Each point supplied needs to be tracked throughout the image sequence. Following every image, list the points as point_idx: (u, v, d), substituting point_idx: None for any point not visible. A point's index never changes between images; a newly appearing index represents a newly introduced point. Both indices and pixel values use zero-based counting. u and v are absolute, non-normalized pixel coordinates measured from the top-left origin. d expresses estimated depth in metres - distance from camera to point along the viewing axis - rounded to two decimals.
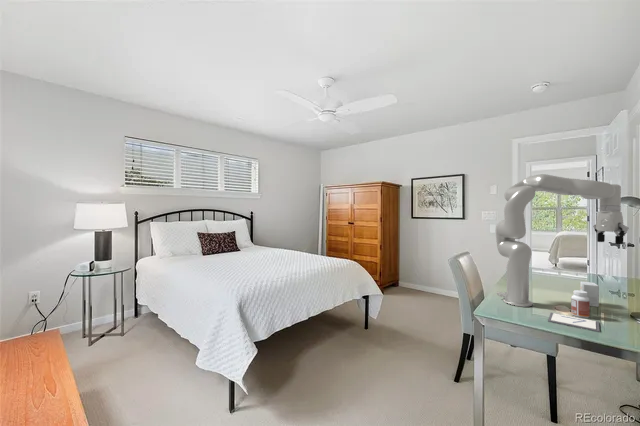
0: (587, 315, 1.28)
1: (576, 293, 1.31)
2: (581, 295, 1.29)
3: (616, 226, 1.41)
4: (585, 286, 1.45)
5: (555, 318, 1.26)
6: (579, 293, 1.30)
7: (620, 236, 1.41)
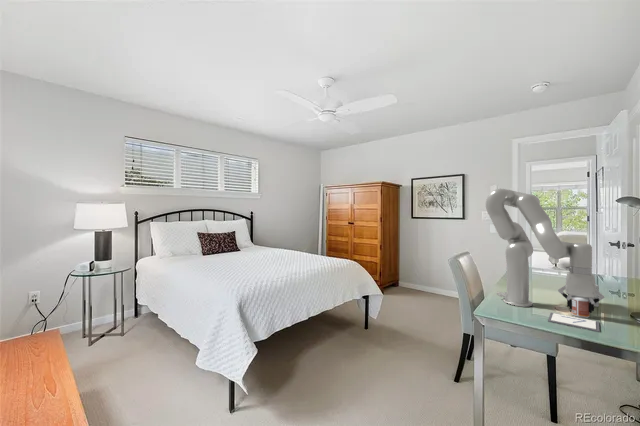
0: (587, 315, 1.28)
1: None
2: None
3: None
4: None
5: (555, 318, 1.26)
6: None
7: None
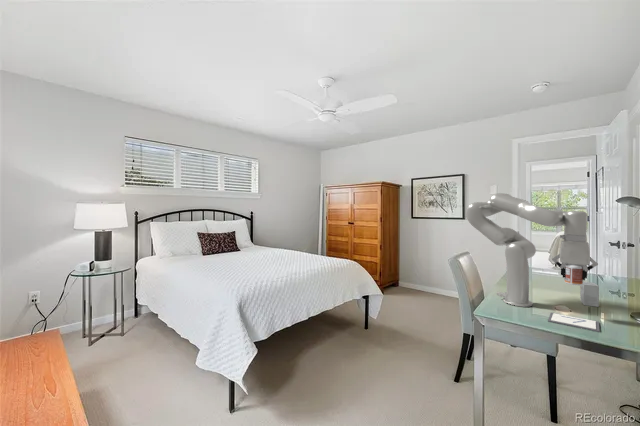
0: (580, 282, 1.28)
1: None
2: None
3: None
4: (585, 286, 1.45)
5: (555, 318, 1.26)
6: None
7: None
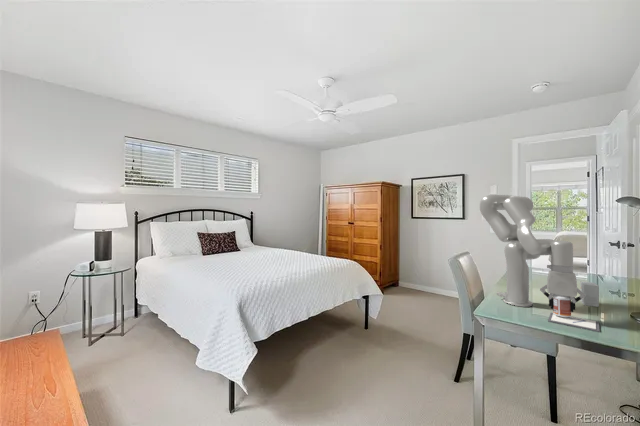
0: (569, 314, 1.25)
1: None
2: None
3: (576, 293, 1.24)
4: (585, 286, 1.45)
5: (555, 318, 1.26)
6: None
7: None
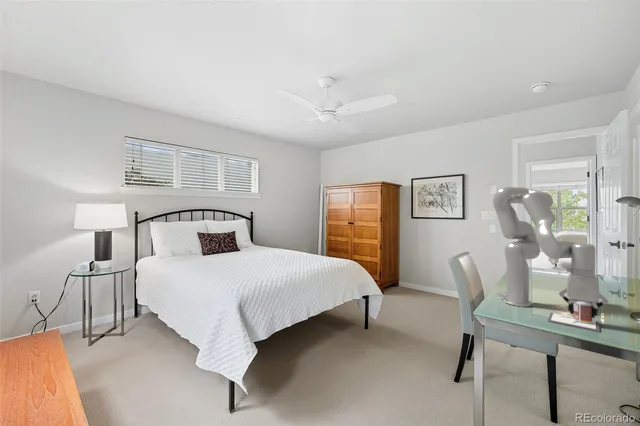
0: (590, 320, 1.20)
1: None
2: None
3: (598, 298, 1.18)
4: None
5: (555, 318, 1.26)
6: None
7: (597, 308, 1.20)
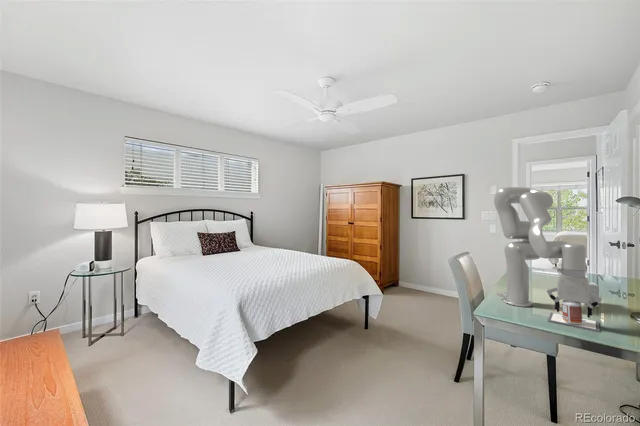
0: (579, 321, 1.19)
1: None
2: None
3: (589, 296, 1.17)
4: None
5: (555, 318, 1.26)
6: None
7: None
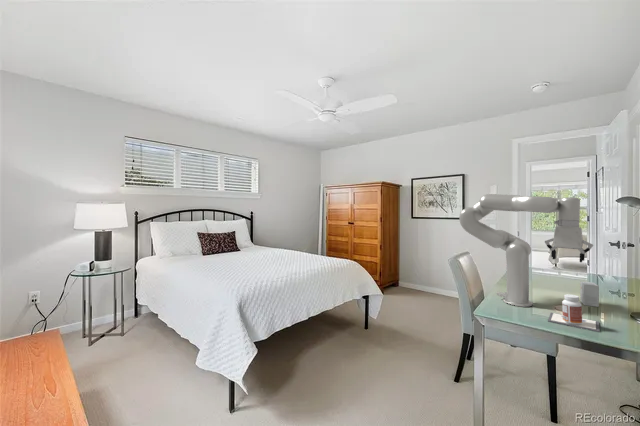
0: (579, 321, 1.19)
1: (567, 298, 1.21)
2: (572, 300, 1.20)
3: (582, 243, 1.31)
4: (585, 286, 1.45)
5: (555, 318, 1.26)
6: (570, 298, 1.20)
7: (584, 254, 1.31)
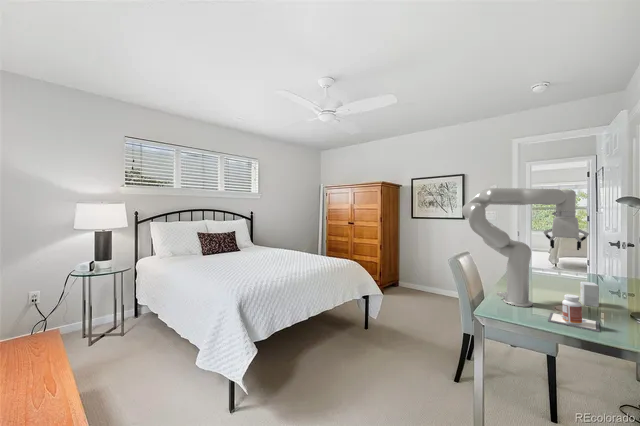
0: (579, 321, 1.19)
1: (567, 298, 1.21)
2: (572, 300, 1.20)
3: (578, 232, 1.41)
4: (585, 286, 1.45)
5: (555, 318, 1.26)
6: (570, 298, 1.20)
7: None
